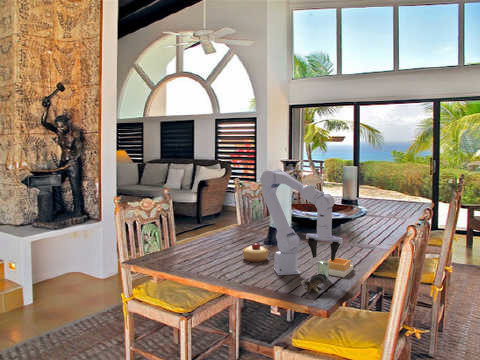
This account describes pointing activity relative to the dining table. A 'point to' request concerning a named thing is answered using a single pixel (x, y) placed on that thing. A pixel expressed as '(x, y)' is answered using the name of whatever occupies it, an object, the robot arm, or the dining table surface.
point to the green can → (323, 268)
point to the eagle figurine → (314, 282)
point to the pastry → (255, 253)
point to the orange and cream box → (339, 267)
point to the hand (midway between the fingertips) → (323, 258)
